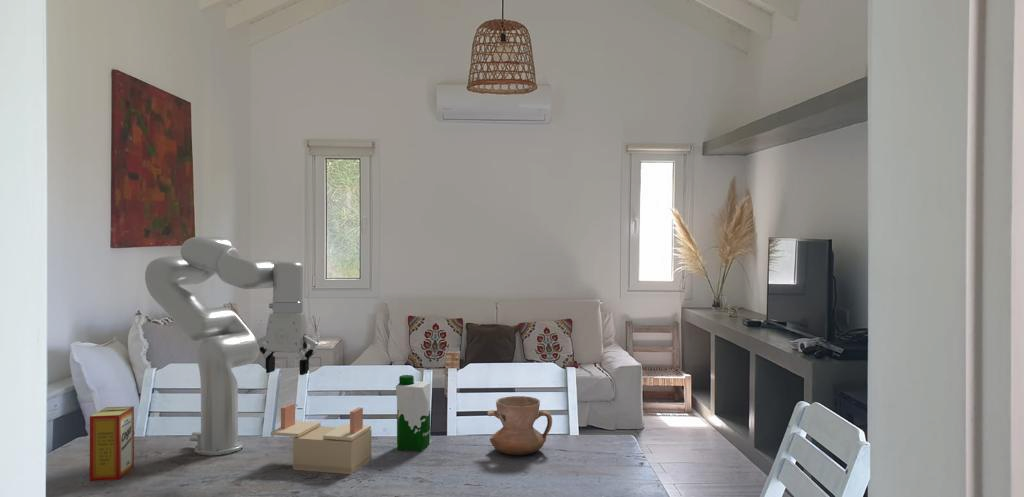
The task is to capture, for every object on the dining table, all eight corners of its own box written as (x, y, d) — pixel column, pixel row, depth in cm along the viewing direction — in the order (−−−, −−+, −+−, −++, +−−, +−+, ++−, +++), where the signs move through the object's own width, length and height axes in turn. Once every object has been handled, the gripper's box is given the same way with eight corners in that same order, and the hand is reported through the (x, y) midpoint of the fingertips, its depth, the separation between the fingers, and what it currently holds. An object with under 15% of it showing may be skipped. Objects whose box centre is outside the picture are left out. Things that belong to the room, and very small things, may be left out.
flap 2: (323, 438, 174) (323, 413, 174) (343, 426, 185) (343, 403, 185) (351, 440, 172) (351, 415, 172) (370, 428, 183) (371, 404, 183)
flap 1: (270, 435, 177) (270, 410, 177) (294, 423, 188) (294, 400, 188) (298, 437, 175) (298, 412, 175) (320, 425, 186) (320, 402, 186)
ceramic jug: (486, 459, 184) (486, 406, 184) (488, 443, 198) (488, 394, 198) (553, 459, 184) (553, 406, 184) (551, 444, 198) (551, 394, 198)
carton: (292, 469, 175) (292, 438, 175) (316, 455, 187) (316, 425, 187) (351, 474, 172) (351, 442, 172) (371, 459, 183) (371, 429, 183)
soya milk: (403, 442, 200) (404, 373, 200) (433, 443, 198) (433, 374, 198) (392, 450, 191) (392, 378, 191) (423, 452, 189) (424, 380, 189)
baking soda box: (118, 479, 167) (118, 413, 167) (89, 481, 166) (89, 414, 166) (133, 467, 177) (133, 404, 177) (106, 468, 176) (106, 405, 176)
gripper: (250, 308, 180) (249, 373, 180) (310, 311, 176) (309, 377, 177) (266, 306, 187) (265, 368, 188) (324, 308, 184) (323, 372, 184)
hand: (287, 373), depth 182 cm, fingers open, 9 cm apart
